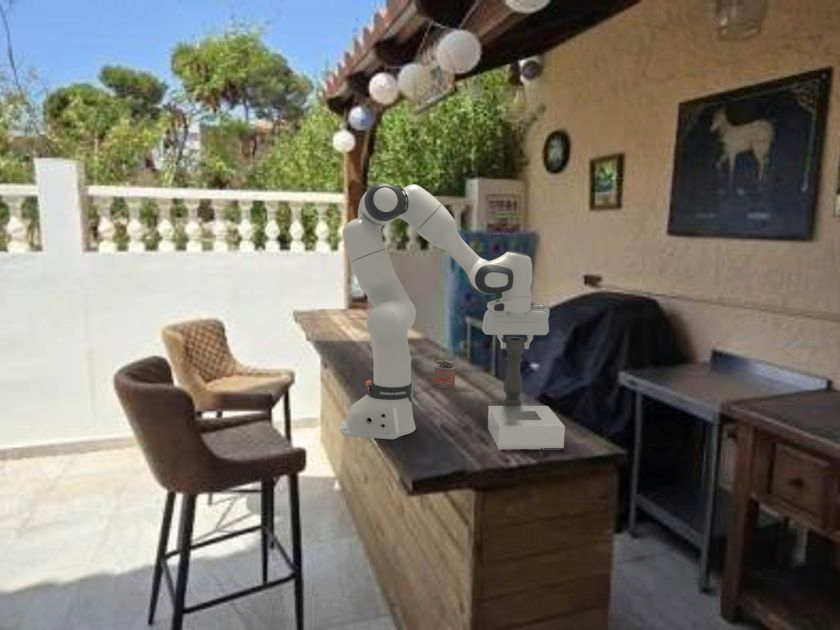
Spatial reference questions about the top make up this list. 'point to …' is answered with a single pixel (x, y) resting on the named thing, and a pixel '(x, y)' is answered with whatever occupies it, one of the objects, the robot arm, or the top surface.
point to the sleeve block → (525, 427)
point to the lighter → (444, 374)
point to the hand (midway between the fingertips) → (514, 348)
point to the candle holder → (513, 371)
